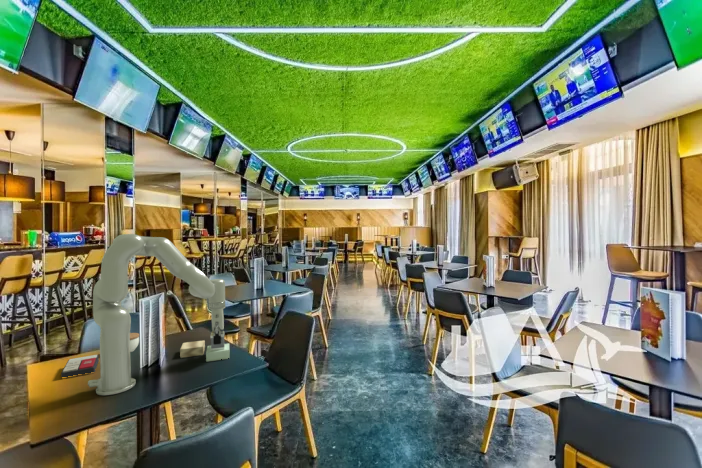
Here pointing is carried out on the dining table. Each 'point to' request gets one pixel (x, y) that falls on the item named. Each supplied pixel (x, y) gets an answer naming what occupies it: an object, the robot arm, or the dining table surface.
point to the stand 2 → (217, 353)
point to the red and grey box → (80, 365)
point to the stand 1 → (192, 349)
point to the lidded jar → (134, 341)
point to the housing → (217, 346)
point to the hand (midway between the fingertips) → (217, 340)
